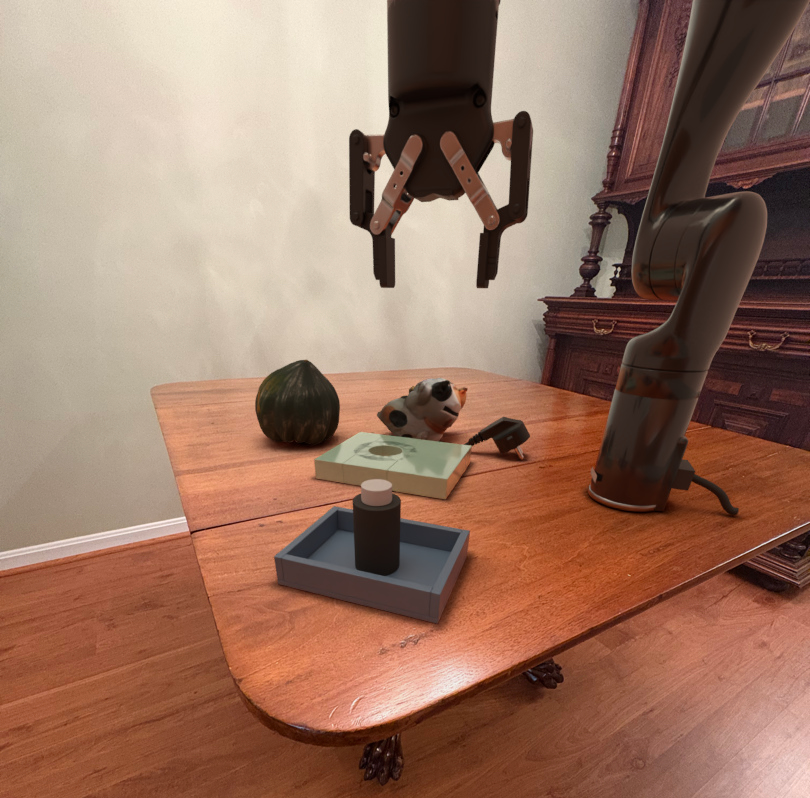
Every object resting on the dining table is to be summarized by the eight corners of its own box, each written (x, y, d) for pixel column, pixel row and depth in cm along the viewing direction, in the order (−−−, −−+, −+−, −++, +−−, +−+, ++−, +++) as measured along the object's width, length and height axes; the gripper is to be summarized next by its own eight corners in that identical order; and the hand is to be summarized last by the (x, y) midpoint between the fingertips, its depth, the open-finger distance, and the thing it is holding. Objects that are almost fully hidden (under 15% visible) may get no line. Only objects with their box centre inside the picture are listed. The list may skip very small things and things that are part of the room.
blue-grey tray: (467, 556, 45) (470, 530, 43) (437, 624, 35) (440, 594, 34) (335, 529, 49) (333, 505, 48) (277, 584, 40) (273, 556, 38)
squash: (252, 401, 82) (248, 342, 69) (328, 400, 88) (339, 346, 74) (261, 465, 78) (260, 417, 65) (341, 461, 84) (355, 415, 70)
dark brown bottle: (405, 557, 43) (407, 479, 39) (390, 581, 40) (390, 497, 35) (366, 549, 44) (364, 473, 40) (347, 571, 41) (343, 489, 37)
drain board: (470, 463, 71) (472, 445, 69) (445, 499, 57) (447, 479, 56) (360, 448, 76) (360, 431, 75) (315, 478, 63) (313, 459, 62)
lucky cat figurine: (416, 424, 91) (452, 365, 84) (449, 459, 86) (490, 400, 79) (364, 413, 80) (400, 345, 73) (398, 453, 75) (440, 383, 68)
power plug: (456, 441, 78) (516, 406, 73) (476, 475, 80) (536, 444, 75) (452, 451, 73) (517, 414, 68) (474, 487, 75) (538, 454, 70)
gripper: (321, -3, 28) (340, 287, 36) (549, -51, 24) (512, 287, 32) (367, 51, 34) (374, 288, 42) (554, 20, 30) (521, 288, 38)
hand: (433, 288), depth 37 cm, fingers open, 8 cm apart
